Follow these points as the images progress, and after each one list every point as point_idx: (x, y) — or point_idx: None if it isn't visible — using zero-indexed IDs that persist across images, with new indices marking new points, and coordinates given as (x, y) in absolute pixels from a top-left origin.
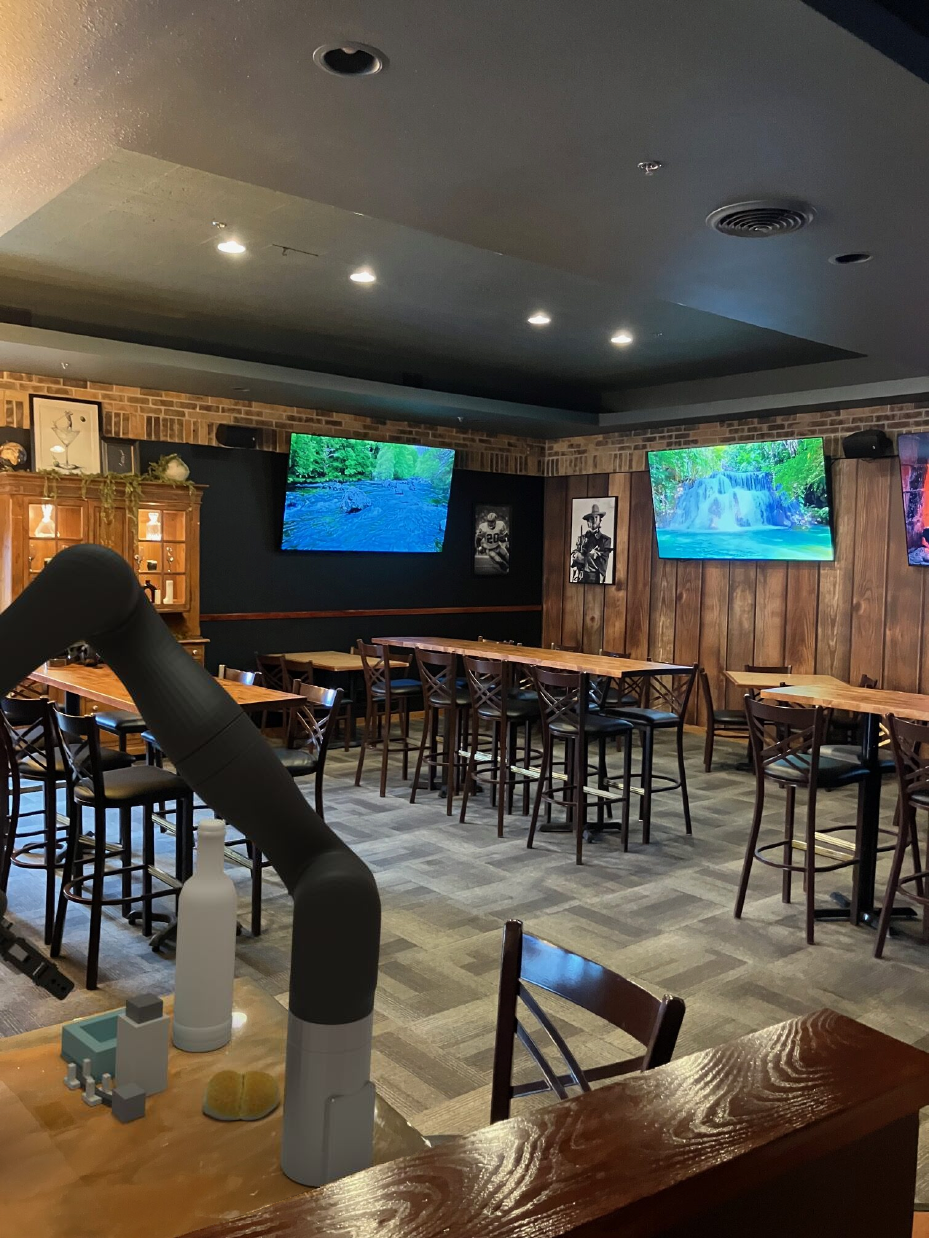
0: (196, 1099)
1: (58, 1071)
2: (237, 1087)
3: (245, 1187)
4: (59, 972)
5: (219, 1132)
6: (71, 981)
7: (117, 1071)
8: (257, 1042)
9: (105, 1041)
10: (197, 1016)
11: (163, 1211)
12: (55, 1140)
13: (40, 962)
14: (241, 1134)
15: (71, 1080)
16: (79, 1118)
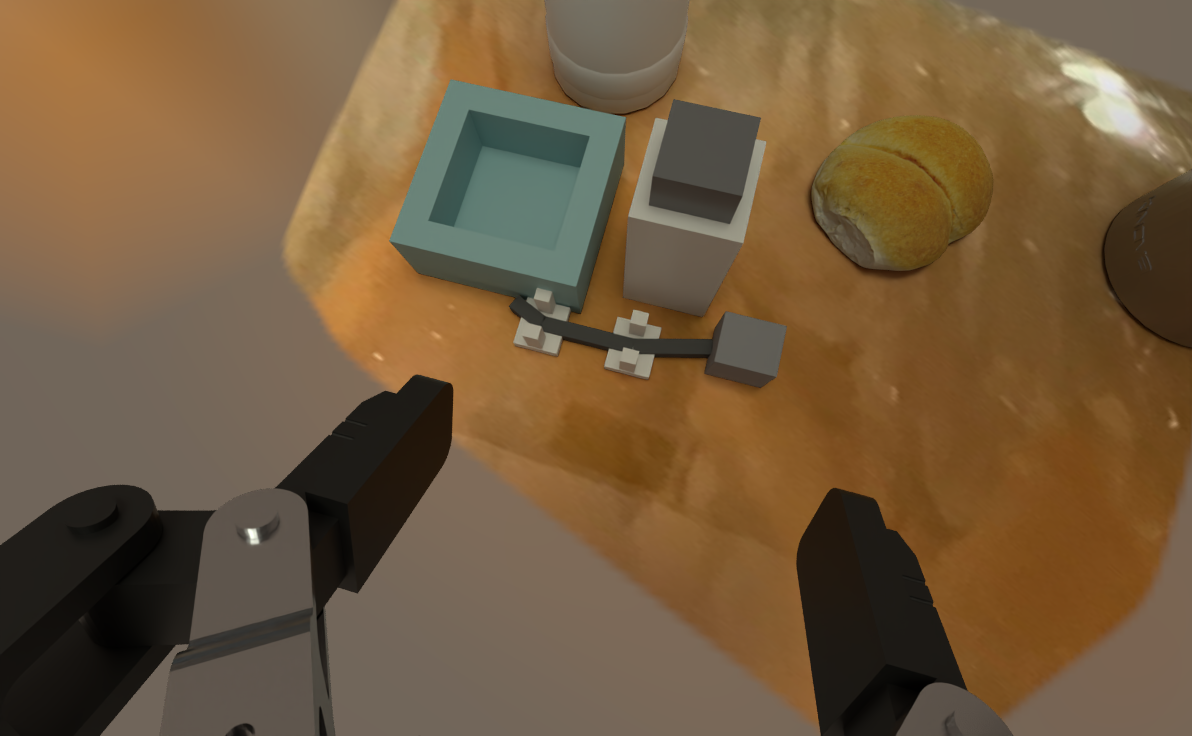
0: (803, 238)
1: (466, 319)
2: (943, 202)
3: (1144, 416)
4: (909, 616)
5: (943, 302)
6: (882, 520)
7: (634, 285)
8: (722, 9)
9: (469, 189)
10: (657, 40)
11: (1091, 568)
12: (698, 514)
13: (448, 391)
14: (984, 283)
15: (543, 344)
16: (666, 426)
